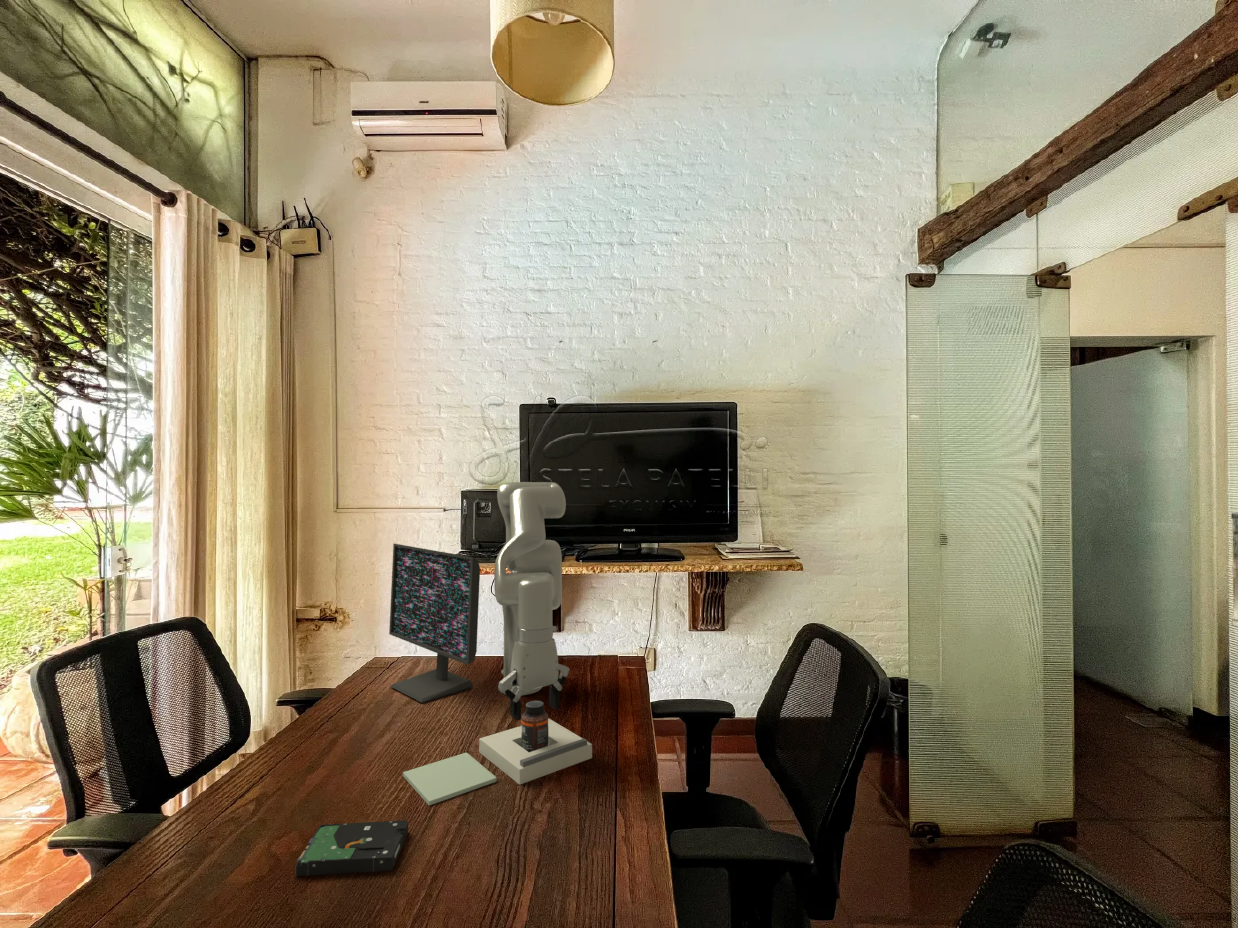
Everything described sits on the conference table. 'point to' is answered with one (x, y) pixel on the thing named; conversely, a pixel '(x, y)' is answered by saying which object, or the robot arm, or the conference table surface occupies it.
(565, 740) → the dispenser block
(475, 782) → the sage mat
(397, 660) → the conference table surface
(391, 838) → the disk drive
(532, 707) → the supplement bottle
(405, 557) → the computer monitor
